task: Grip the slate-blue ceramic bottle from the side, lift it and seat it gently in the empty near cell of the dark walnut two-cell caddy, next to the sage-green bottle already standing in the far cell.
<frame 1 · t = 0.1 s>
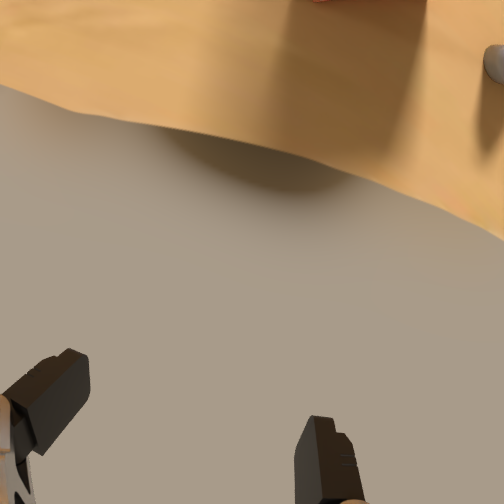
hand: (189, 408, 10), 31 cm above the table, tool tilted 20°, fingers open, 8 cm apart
blue bottle: (499, 64, 24), on the table
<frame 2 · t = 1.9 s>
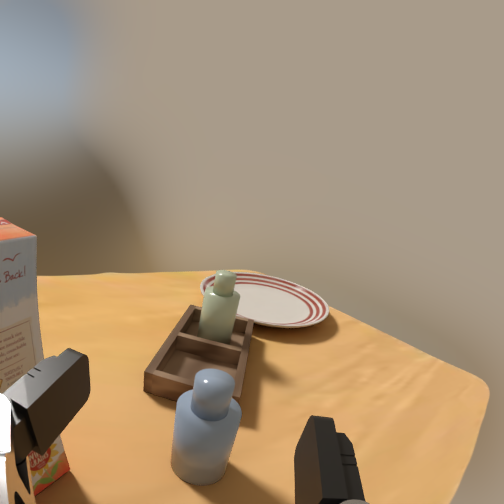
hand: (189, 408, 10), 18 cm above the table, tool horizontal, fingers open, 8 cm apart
cracker box: (0, 486, 13), on the table
blue bottle: (198, 464, 25), on the table
caddy: (206, 359, 43), on the table
green bottle: (213, 339, 48), point 1 cm above the table, touching caddy
dinner plate: (262, 308, 67), on the table
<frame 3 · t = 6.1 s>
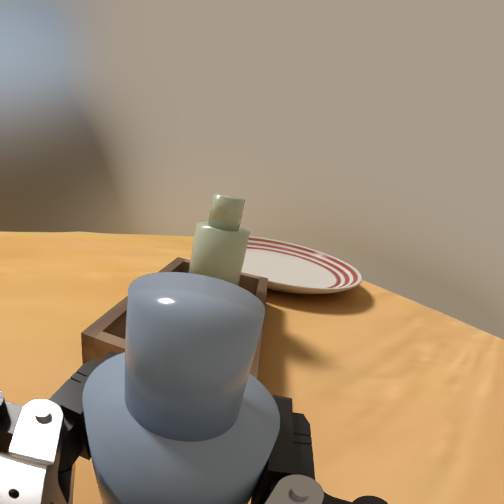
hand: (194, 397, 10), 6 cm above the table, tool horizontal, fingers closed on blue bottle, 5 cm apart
caddy: (196, 328, 28), on the table
green bottle: (209, 303, 33), point 1 cm above the table, touching caddy
dinner plate: (275, 274, 52), on the table
when the fingers open (8 cm above the table, at t = 11.1 s): blue bottle drops 1 cm, resting on caddy.
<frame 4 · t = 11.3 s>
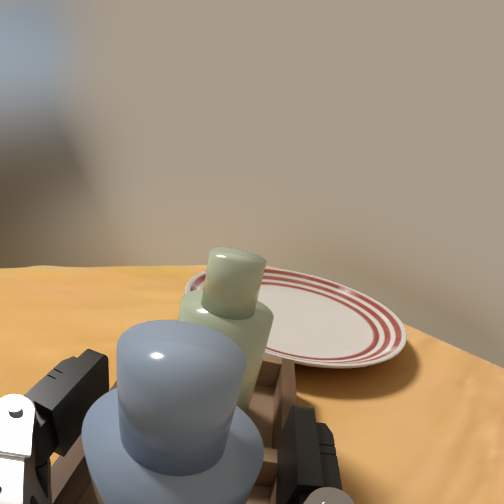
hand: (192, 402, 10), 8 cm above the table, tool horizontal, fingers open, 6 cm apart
caddy: (189, 470, 14), on the table
green bottle: (206, 412, 19), point 1 cm above the table, touching caddy
dinner plate: (293, 325, 39), on the table
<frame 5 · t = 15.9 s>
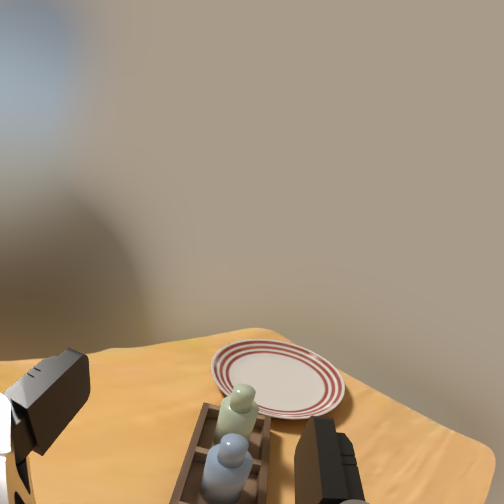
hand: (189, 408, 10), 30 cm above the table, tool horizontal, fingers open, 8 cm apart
blue bottle: (219, 492, 32), point 1 cm above the table, touching caddy
caddy: (225, 468, 37), on the table
green bottle: (230, 442, 42), point 1 cm above the table, touching caddy
dinner plate: (276, 384, 61), on the table
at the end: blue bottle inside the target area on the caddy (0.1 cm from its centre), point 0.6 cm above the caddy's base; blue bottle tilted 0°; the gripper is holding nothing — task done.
